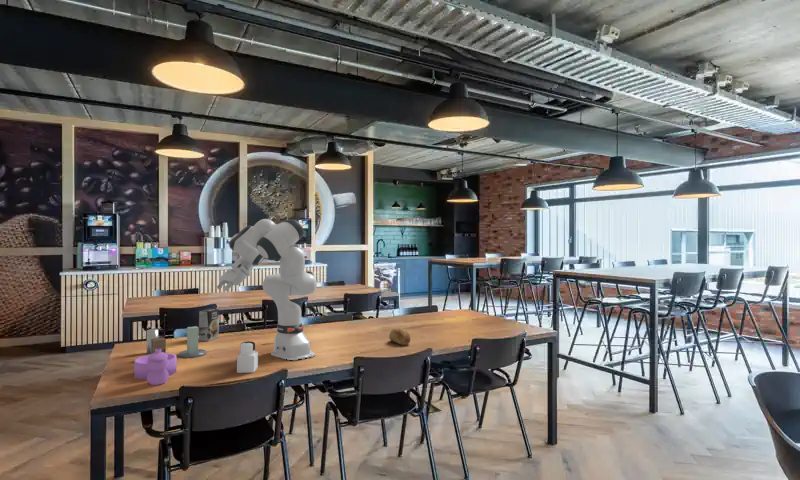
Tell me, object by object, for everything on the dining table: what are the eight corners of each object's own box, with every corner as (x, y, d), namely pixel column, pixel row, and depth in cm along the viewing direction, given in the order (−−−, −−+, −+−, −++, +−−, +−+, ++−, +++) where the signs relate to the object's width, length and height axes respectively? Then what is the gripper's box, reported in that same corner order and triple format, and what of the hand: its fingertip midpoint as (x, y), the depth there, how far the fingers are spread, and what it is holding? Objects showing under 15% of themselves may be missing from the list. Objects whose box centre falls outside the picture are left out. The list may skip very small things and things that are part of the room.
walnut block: (165, 358, 203) (165, 339, 203) (153, 360, 199) (153, 340, 199) (163, 356, 207) (163, 337, 206) (151, 358, 203) (151, 338, 203)
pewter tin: (159, 353, 212) (159, 330, 212) (147, 354, 209) (147, 331, 208) (157, 350, 216) (157, 328, 215) (145, 352, 212) (145, 329, 212)
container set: (133, 371, 184) (134, 340, 183) (174, 366, 192) (174, 336, 192) (135, 389, 163) (135, 354, 162) (180, 382, 171) (181, 349, 171)
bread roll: (399, 347, 229) (399, 332, 228) (384, 341, 241) (385, 327, 241) (414, 345, 234) (414, 330, 234) (399, 339, 246) (399, 325, 246)
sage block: (198, 352, 210) (198, 327, 210) (189, 353, 207) (189, 328, 207) (195, 350, 213) (196, 326, 213) (187, 352, 210) (187, 327, 210)
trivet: (209, 355, 209) (209, 352, 209) (182, 359, 201) (182, 357, 201) (201, 349, 218) (201, 347, 218) (175, 353, 210) (175, 351, 210)
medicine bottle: (241, 367, 190) (241, 340, 190) (258, 367, 191) (258, 340, 191) (236, 373, 183) (236, 344, 183) (253, 372, 184) (254, 344, 183)
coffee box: (209, 341, 236) (209, 311, 235) (198, 340, 237) (198, 310, 237) (219, 337, 245) (219, 308, 244) (209, 336, 246) (209, 308, 246)
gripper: (228, 264, 233) (209, 283, 227) (243, 265, 218) (223, 286, 211) (237, 272, 236) (218, 291, 230) (252, 274, 221) (232, 295, 214)
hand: (221, 289), depth 220 cm, fingers open, 8 cm apart
